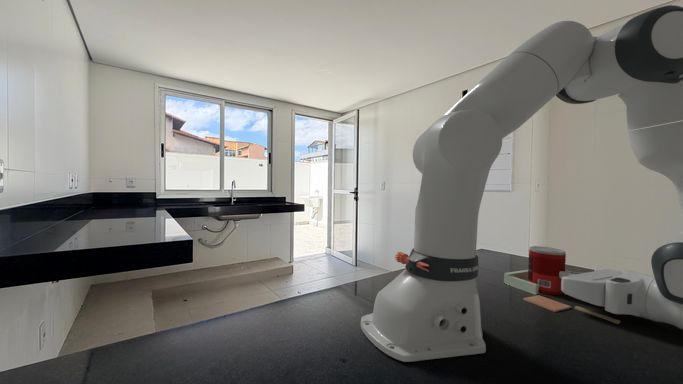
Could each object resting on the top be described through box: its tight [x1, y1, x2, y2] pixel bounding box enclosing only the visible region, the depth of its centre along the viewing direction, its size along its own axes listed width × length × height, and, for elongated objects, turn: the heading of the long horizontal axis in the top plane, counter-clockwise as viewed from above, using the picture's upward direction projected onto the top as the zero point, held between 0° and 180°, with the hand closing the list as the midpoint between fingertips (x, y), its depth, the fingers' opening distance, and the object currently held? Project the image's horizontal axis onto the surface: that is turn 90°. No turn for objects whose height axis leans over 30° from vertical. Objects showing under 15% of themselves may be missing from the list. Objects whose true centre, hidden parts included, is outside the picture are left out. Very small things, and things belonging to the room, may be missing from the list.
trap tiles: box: [522, 294, 572, 313], centre depth 72 cm, size 26×11×1 cm, turn 114°
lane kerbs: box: [574, 305, 621, 325], centre depth 65 cm, size 13×12×1 cm
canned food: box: [527, 245, 567, 296], centre depth 75 cm, size 8×8×11 cm
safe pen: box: [503, 269, 539, 296], centre depth 78 cm, size 13×9×3 cm
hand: (562, 273), depth 72 cm, fingers closed, pressing on canned food
